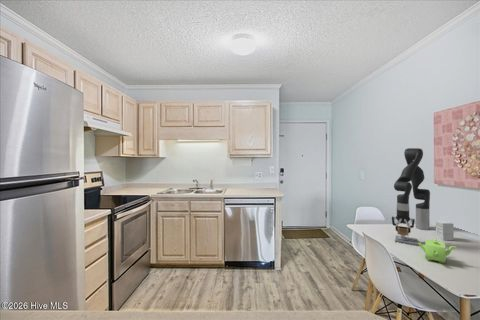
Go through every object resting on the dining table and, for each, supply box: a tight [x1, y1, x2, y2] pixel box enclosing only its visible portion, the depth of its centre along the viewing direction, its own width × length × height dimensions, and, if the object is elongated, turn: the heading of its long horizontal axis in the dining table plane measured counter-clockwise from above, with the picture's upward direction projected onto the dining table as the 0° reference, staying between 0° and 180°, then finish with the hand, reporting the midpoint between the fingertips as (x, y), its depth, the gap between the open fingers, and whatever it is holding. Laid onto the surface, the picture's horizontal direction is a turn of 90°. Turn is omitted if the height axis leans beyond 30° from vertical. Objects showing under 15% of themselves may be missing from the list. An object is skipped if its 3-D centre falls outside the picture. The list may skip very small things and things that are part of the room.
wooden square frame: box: [397, 225, 409, 237], centre depth 171 cm, size 6×6×4 cm
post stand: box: [394, 234, 419, 247], centre depth 171 cm, size 13×13×8 cm
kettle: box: [418, 238, 456, 264], centre depth 141 cm, size 15×14×11 cm
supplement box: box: [435, 220, 455, 241], centre depth 174 cm, size 7×7×13 cm
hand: (402, 232), depth 171 cm, fingers closed on wooden square frame, 6 cm apart
